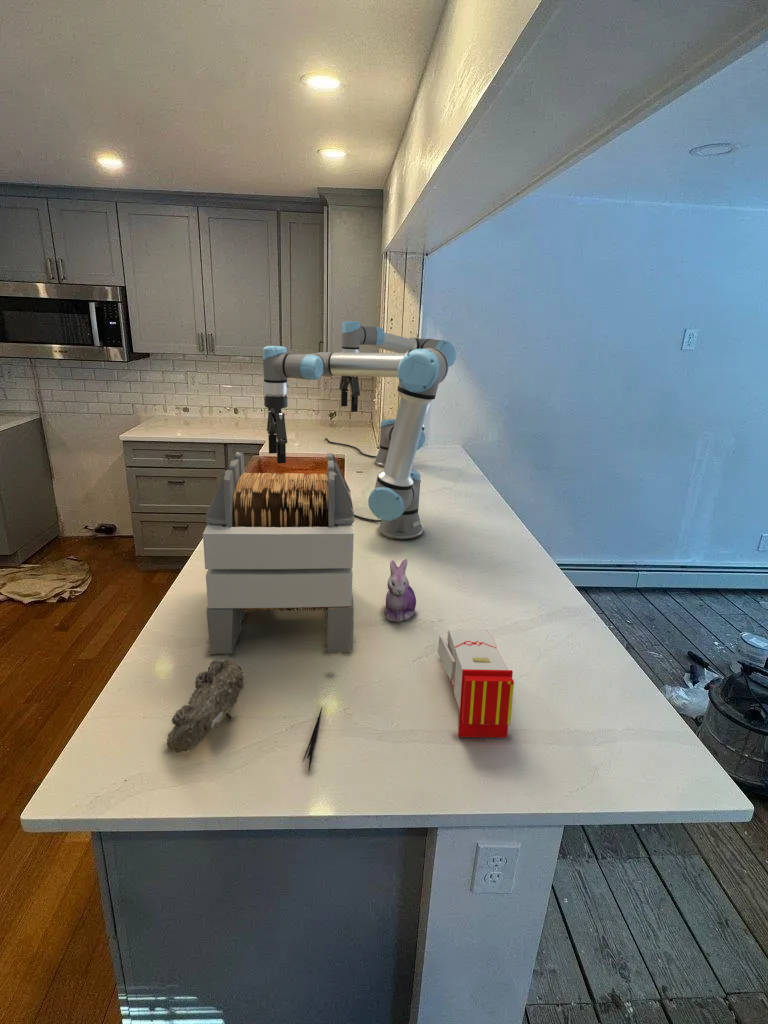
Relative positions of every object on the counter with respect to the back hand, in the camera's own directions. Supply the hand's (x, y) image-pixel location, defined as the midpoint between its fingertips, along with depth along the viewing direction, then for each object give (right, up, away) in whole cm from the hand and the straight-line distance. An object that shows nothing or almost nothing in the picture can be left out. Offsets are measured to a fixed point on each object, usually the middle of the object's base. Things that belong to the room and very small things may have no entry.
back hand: (349, 408), depth 250 cm
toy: (+33, -83, -131) cm, 159 cm away
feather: (+3, -85, -141) cm, 165 cm away
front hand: (-21, -27, -57) cm, 66 cm away
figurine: (+19, -72, -102) cm, 127 cm away
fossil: (-17, -84, -142) cm, 166 cm away
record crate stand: (-10, -72, -106) cm, 128 cm away
